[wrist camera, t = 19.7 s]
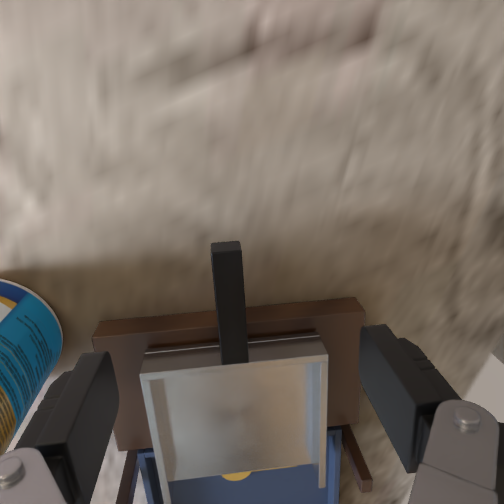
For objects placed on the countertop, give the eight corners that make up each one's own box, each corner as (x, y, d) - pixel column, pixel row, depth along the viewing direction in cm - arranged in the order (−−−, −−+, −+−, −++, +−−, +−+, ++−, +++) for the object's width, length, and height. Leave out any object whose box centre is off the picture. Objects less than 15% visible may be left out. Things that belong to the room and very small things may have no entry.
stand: (355, 296, 28) (385, 338, 23) (348, 434, 32) (372, 492, 28) (99, 320, 26) (75, 370, 22) (130, 460, 31) (116, 525, 26)
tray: (334, 410, 31) (342, 429, 30) (331, 514, 36) (337, 536, 34) (141, 433, 30) (136, 454, 28) (162, 537, 35) (160, 561, 33)
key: (220, 478, 32) (220, 482, 32) (218, 454, 31) (218, 459, 31) (296, 469, 33) (297, 473, 32) (296, 445, 32) (297, 450, 31)
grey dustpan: (318, 228, 23) (331, 242, 21) (316, 457, 30) (325, 487, 27) (127, 243, 22) (117, 260, 20) (168, 475, 29) (164, 508, 27)
